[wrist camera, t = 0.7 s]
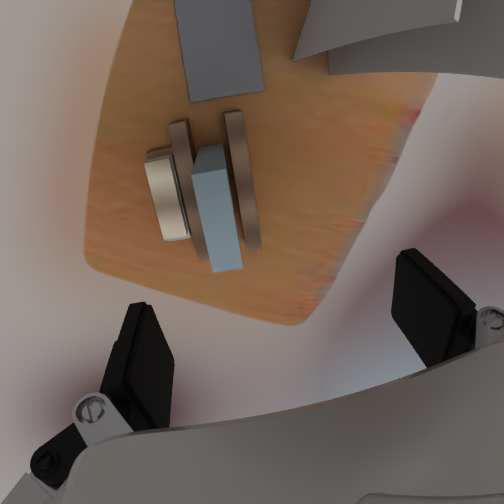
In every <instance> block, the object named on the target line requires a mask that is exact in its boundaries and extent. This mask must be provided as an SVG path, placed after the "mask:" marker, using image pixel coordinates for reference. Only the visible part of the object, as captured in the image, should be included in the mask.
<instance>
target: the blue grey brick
mask: <svg viewBox="0 0 504 504" xmlns="http://www.w3.org/2000/svg"><path fill="white" fill-rule="evenodd" d="M191 177H192V181H193V186H194V191H195V196H196V200H197V205H198V209H199V214H200V219H201V223H202V228H203V232H204V236H205V241H206V245H207V249H208V254H209V258H210V262H211V266H212V271H213V273H217V272H223V271H228V270H234V269H240V268H243V264H242V257H241V251H240V245H239V238H238V232H237V225H236V219H235V213H234V207H233V201H232V195H231V189H230V184H229V178H228V172H227V166H226V160H225V154H224V148H223V143H221V144H216V145H210V146H205V147H199V151H198V154H197V157H196V160H195V164H194V167H193V171H192V174H191Z"/></svg>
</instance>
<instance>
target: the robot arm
mask: <svg viewBox="0 0 504 504" xmlns="http://www.w3.org/2000/svg"><path fill="white" fill-rule="evenodd" d="M475 306H476V304H475V303H474V302H473V301H472V300H471V299H470V298H469V297H468V296H467V295H466V294H465V293H464V292H463V291H462V290H461V289H460V288H459V287H458V286H457V285H455V284H454V283H453V282H452V281H451V280H450V279H449V278H448V277H447V276H446V275H445V274H444V273H443V272H442V271H440V270H439V269H438V268H437V267H436V266H435V265H434V264H433V263H432V262H430V261H429V260H428V259H427V258H426V257H425V256H424V255H423V254H421V253H420V252H419V251H418V250H417V249H415V248H412V249H407V250H402V251H401V252H400V254H399V255H398V256H397V258H396V269H395V281H394V290H393V299H392V308H391V314H392V317H393V319H394V321H395V322H396V323H397V325H398V326H399V328H400V329H401V331H402V332H403V333H404V335H405V336H406V338H407V339H408V340H409V342H410V344H411V345H412V346H413V348H414V349H415V351H416V352H417V354H418V355H419V357H420V358H421V360H422V361H423V363H424V364H425V366H426V367H427V368H426V369H424V370H421V371H419V372H416V373H413V374H410V375H408V376H405V377H402V378H399V379H396V380H394V381H391V382H388V383H385V384H382V385H378V386H375V387H372V388H369V389H366V390H363V391H359V392H356V393H352V394H349V395H345V396H342V397H338V398H334V399H331V400H327V401H323V402H319V403H315V404H311V405H306V406H302V407H298V408H294V409H289V410H284V411H279V412H274V413H269V414H264V415H258V416H253V417H247V418H241V419H234V420H227V421H220V422H212V423H205V424H197V425H188V426H179V427H169V424H170V409H171V397H172V386H173V374H174V358H173V355H172V353H171V350H170V348H169V346H168V344H167V341H166V339H165V337H164V334H163V332H162V330H161V327H160V325H159V322H158V320H157V318H156V315H155V313H154V310H153V308H152V306H151V305H147V304H146V303H145V302H139V303H132V304H130V305H129V307H128V310H127V313H126V316H125V319H124V322H123V325H122V328H121V331H120V334H119V337H118V340H117V341H116V342H115V343H114V345H113V348H112V352H111V354H110V358H109V361H108V364H107V367H106V370H105V374H104V377H103V381H102V384H101V387H100V391H99V393H90V394H87V395H85V396H83V397H82V398H80V399H79V400H78V401H77V403H76V404H75V405H74V408H73V410H72V418H73V421H74V423H72V424H71V425H70V426H68V427H67V428H66V429H64V430H63V431H62V432H60V433H59V434H57V435H56V436H55V437H53V438H52V439H50V440H49V441H48V442H47V443H45V444H44V445H42V446H41V447H39V448H38V449H37V450H36V451H35V452H34V454H33V456H32V458H31V462H30V468H31V473H30V474H27V473H25V474H24V475H23V477H22V478H21V479H20V480H19V482H18V483H17V484H16V485H15V487H14V488H13V489H12V490H11V492H10V493H9V494H8V496H7V497H6V498H5V499H4V501H3V502H2V503H1V504H504V310H502V309H500V308H497V307H492V306H487V307H483V308H481V309H480V310H479V311H477V310H476V309H475Z"/></svg>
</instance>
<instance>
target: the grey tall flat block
mask: <svg viewBox="0 0 504 504" xmlns="http://www.w3.org/2000/svg"><path fill="white" fill-rule="evenodd" d="M327 50H328V61H329V75H341V74H354V73H374V72H434V73H453V74H466V75H476V76H485V77H493V78H501V79H504V0H311V4H310V7H309V10H308V13H307V16H306V19H305V22H304V25H303V28H302V31H301V34H300V37H299V40H298V43H297V47H296V50H295V53H294V56H293V59H292V61H293V62H295V61H297V60H300V59H303V58H306V57H309V56H312V55H315V54H318V53H321V52H324V51H327Z"/></svg>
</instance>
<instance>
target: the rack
mask: <svg viewBox="0 0 504 504" xmlns="http://www.w3.org/2000/svg"><path fill="white" fill-rule="evenodd" d="M224 117H225V124H226V130H227V136H228V142H229V148H230V154H231V160H232V167H233V173H234V179H235V185H236V191H237V197H238V203H239V209H240V215H241V221H242V227H243V233H244V239H245V244H246V250H247V253H249V252H255V251H261V250H262V245H261V238H260V231H259V224H258V217H257V210H256V203H255V196H254V189H253V182H252V175H251V168H250V161H249V155H248V148H247V141H246V134H245V128H244V121H243V114H242V111H241V110H234V111H228V112H224ZM168 129H169V134H170V139H171V144H172V148H173V153H174V158H175V163H176V167H177V172H178V177H179V181H180V186H181V190H182V195H183V199H184V203H185V208H186V212H187V216H188V220H189V225H190V229H191V233H192V237H193V241H194V245H195V249H196V253H197V257H198V261H203V260H209V259H210V258H209V254H208V249H207V245H206V241H205V236H204V232H203V228H202V223H201V219H200V214H199V209H198V205H197V200H196V196H195V191H194V186H193V181H192V177H191V174H192V171H193V167H194V164H195V160H196V158H195V153H194V148H193V143H192V137H191V132H190V127H189V121H188V119H185V120H180V121H175V122H172V123H170V124H169V125H168Z"/></svg>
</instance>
